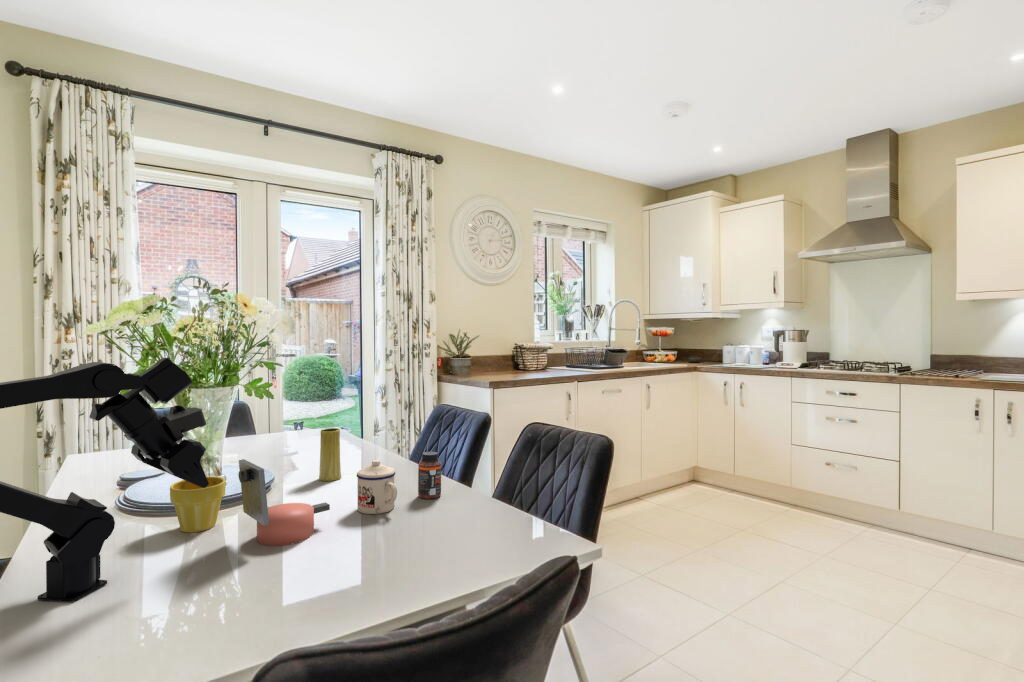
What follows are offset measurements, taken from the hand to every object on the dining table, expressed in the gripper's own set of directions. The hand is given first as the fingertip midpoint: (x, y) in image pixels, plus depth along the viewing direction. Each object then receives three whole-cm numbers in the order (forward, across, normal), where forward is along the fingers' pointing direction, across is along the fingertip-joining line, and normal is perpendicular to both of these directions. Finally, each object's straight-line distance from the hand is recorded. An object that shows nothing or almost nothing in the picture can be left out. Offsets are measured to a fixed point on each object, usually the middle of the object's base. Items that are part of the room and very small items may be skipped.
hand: (195, 481), depth 101 cm
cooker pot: (+22, -4, -6) cm, 23 cm away
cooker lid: (+8, -3, -6) cm, 11 cm away
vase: (+38, +26, -29) cm, 55 cm away
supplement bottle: (+42, -8, -35) cm, 55 cm away
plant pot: (+15, +15, +3) cm, 22 cm away
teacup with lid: (+34, -7, -23) cm, 41 cm away
